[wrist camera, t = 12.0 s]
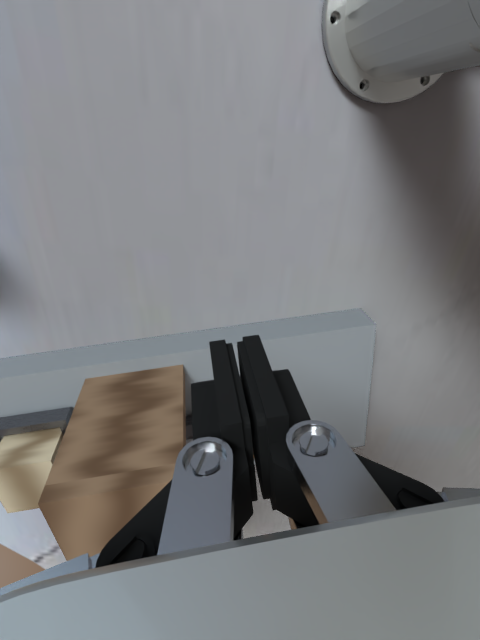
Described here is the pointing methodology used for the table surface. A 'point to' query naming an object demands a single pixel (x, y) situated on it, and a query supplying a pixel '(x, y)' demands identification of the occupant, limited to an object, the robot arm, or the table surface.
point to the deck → (194, 354)
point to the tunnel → (114, 456)
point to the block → (26, 467)
